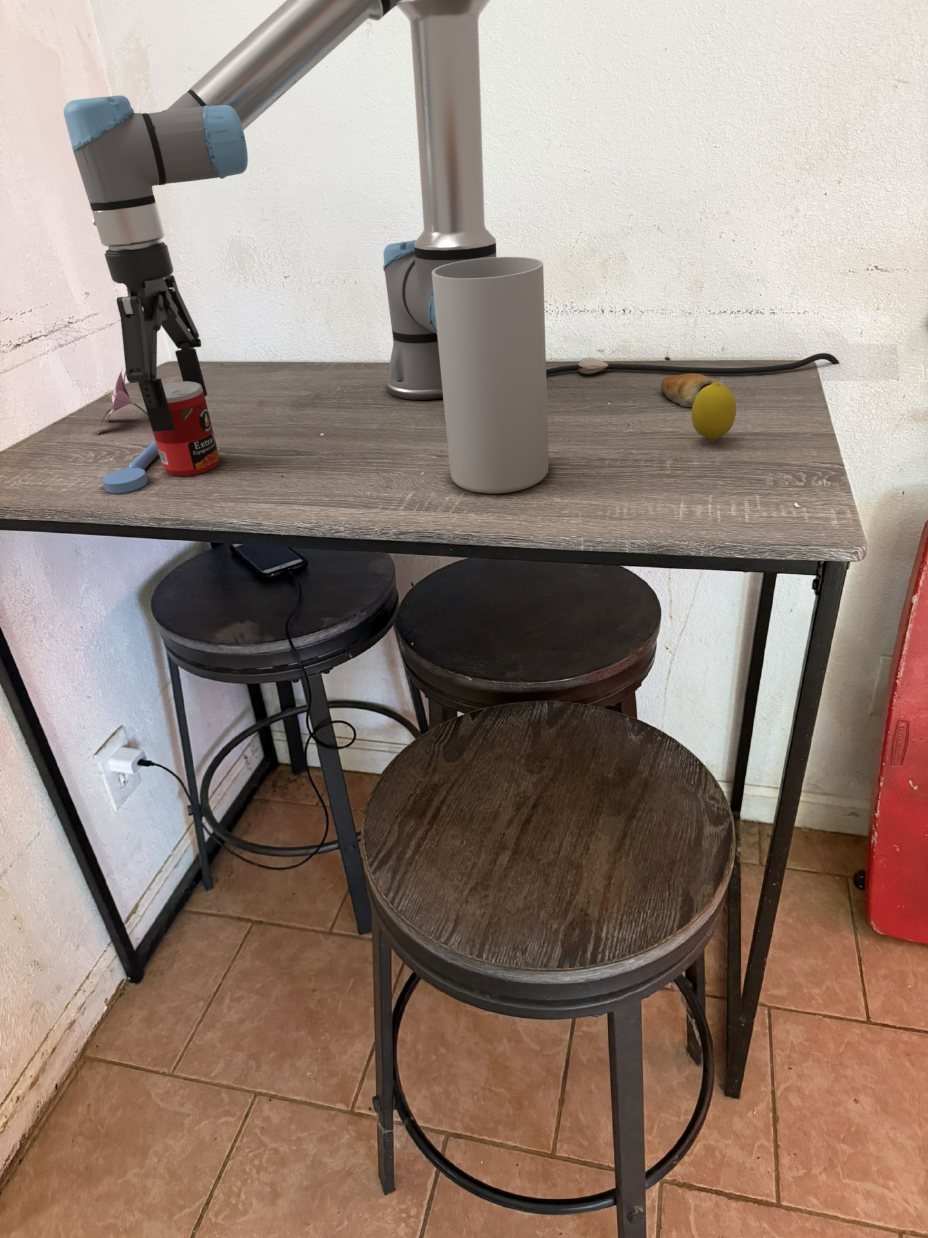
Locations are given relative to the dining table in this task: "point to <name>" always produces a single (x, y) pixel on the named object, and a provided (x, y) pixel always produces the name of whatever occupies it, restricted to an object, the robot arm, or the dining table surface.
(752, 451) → the dining table surface
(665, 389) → the pastry
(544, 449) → the cylinder vase
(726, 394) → the lemon
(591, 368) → the seashell
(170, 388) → the canned food
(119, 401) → the lily
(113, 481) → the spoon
